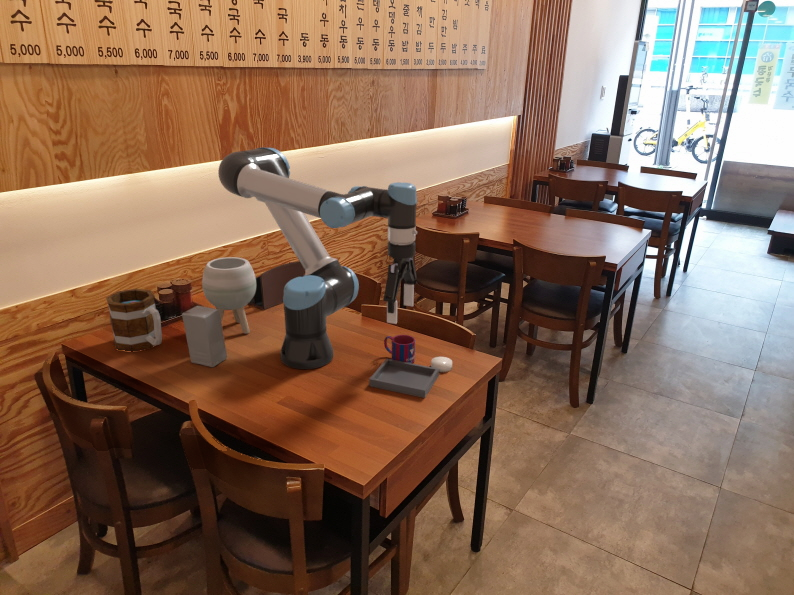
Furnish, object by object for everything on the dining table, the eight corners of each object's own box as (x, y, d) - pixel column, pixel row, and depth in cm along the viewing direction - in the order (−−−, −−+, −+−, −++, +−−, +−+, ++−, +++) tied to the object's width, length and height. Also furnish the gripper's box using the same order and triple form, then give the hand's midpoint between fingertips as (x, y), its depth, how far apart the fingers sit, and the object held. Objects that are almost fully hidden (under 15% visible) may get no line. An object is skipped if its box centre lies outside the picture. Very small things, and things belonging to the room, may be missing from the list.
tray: (369, 386, 155) (369, 379, 154) (386, 365, 166) (386, 358, 165) (424, 398, 150) (425, 390, 149) (438, 375, 161) (439, 368, 160)
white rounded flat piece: (428, 370, 164) (428, 364, 164) (434, 361, 170) (434, 355, 169) (448, 374, 162) (449, 368, 162) (454, 365, 168) (454, 358, 167)
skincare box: (227, 359, 168) (222, 308, 162) (210, 369, 162) (204, 317, 156) (205, 353, 171) (199, 303, 165) (187, 363, 165) (180, 311, 159)
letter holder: (305, 295, 216) (303, 258, 211) (264, 310, 202) (261, 272, 196) (286, 288, 222) (285, 253, 217) (245, 303, 207) (242, 266, 202)
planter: (242, 315, 197) (236, 252, 189) (269, 329, 187) (264, 263, 179) (198, 328, 186) (190, 262, 178) (224, 345, 176) (217, 275, 168)
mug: (104, 344, 175) (95, 298, 170) (145, 329, 185) (138, 285, 180) (141, 363, 165) (134, 314, 159) (183, 346, 175) (177, 300, 169)
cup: (403, 368, 165) (404, 346, 162) (378, 357, 171) (378, 336, 168) (419, 360, 169) (420, 339, 167) (393, 349, 176) (394, 329, 173)
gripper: (398, 255, 145) (397, 333, 153) (428, 231, 167) (426, 300, 174) (370, 252, 147) (371, 328, 155) (404, 229, 169) (403, 297, 177)
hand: (400, 313), depth 165 cm, fingers open, 13 cm apart
